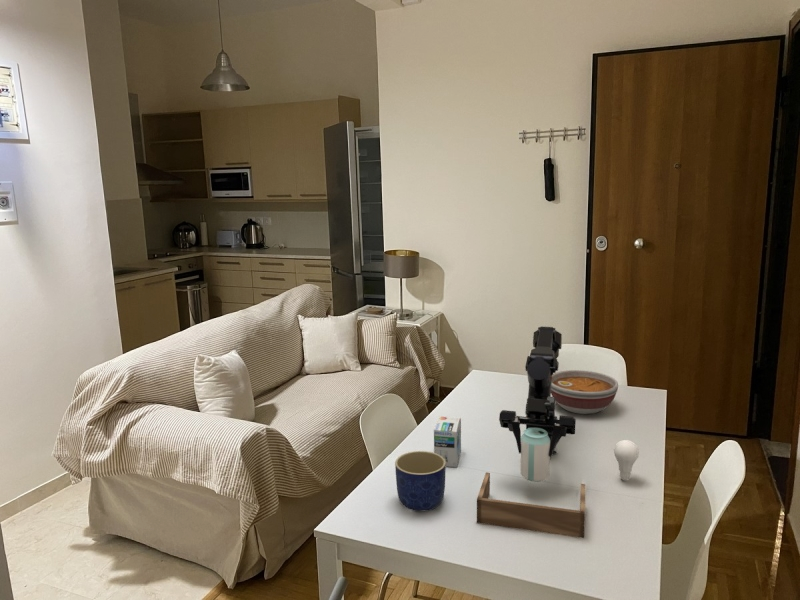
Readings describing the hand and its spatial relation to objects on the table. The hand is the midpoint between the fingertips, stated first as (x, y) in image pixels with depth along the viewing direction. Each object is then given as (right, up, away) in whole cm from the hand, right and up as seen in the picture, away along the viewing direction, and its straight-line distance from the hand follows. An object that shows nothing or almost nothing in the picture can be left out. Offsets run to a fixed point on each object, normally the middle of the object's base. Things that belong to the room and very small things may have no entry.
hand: (534, 454), depth 152 cm
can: (+1, -6, +3) cm, 7 cm away
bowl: (+29, +1, +58) cm, 65 cm away
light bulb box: (-20, -7, +24) cm, 32 cm away
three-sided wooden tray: (-2, -13, -6) cm, 14 cm away
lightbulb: (+26, -9, +10) cm, 29 cm away
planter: (-28, -12, +1) cm, 31 cm away
